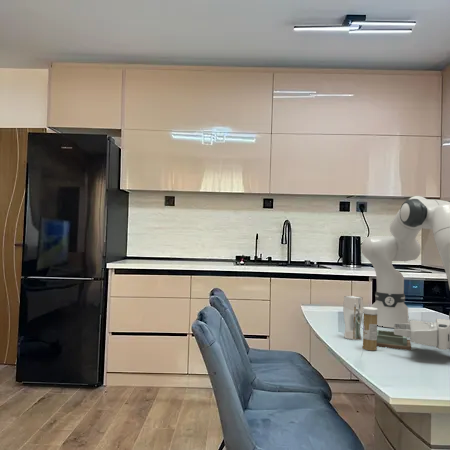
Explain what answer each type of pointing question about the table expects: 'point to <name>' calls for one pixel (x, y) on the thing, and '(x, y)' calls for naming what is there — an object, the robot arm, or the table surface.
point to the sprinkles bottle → (370, 328)
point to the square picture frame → (392, 340)
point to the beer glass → (352, 317)
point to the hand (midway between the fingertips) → (394, 328)
